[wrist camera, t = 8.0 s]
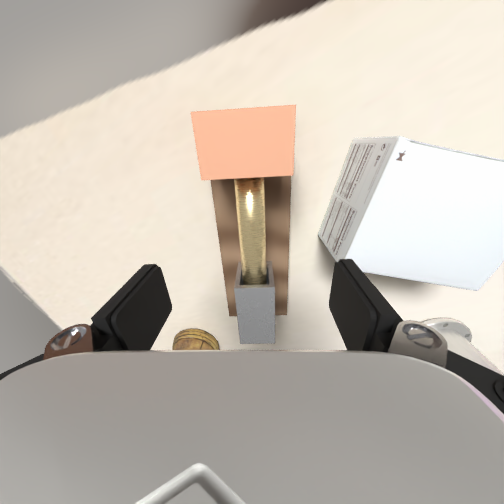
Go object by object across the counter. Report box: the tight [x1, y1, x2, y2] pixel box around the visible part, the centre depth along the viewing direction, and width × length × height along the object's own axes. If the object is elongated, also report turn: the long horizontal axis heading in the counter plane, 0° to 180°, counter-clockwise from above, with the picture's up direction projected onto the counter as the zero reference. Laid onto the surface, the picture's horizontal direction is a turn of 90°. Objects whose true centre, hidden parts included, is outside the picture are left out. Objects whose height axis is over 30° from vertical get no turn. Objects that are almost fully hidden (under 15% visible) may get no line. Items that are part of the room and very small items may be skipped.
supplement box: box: [318, 136, 504, 291], centre depth 24 cm, size 17×13×9 cm
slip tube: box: [234, 177, 267, 285], centre depth 25 cm, size 20×3×3 cm, turn 3°
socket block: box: [191, 105, 296, 180], centre depth 20 cm, size 5×8×8 cm, turn 93°
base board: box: [211, 176, 291, 316], centre depth 30 cm, size 29×10×2 cm, turn 3°
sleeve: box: [234, 261, 275, 344], centre depth 30 cm, size 10×5×6 cm, turn 3°
